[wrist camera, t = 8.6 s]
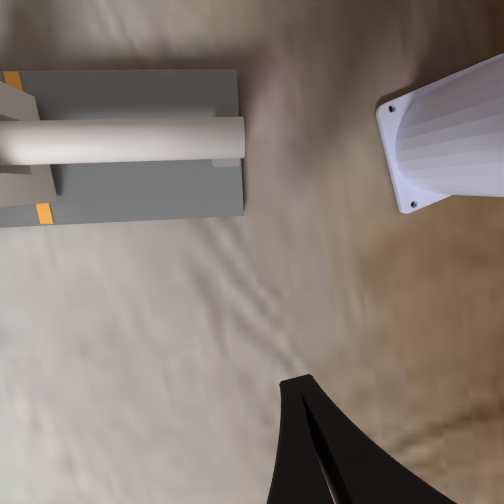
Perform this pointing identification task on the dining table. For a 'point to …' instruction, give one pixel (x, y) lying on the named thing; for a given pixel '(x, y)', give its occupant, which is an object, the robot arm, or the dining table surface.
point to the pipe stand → (129, 144)
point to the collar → (23, 176)
